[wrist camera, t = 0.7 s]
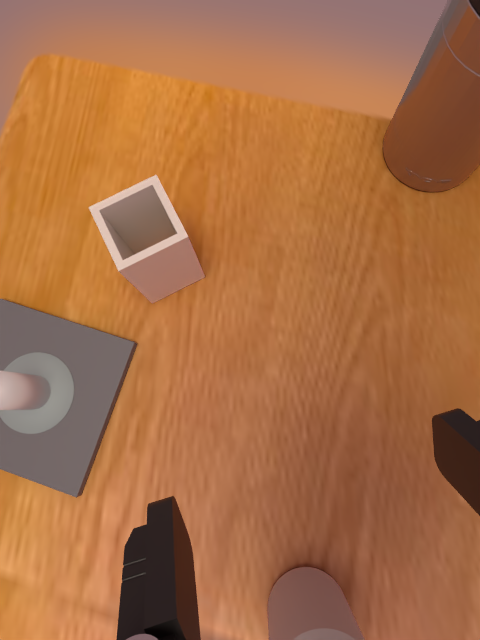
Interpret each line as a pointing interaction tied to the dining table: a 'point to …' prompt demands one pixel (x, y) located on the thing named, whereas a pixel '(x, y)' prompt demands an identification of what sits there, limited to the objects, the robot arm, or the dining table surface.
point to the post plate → (55, 395)
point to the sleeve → (147, 240)
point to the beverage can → (310, 608)
